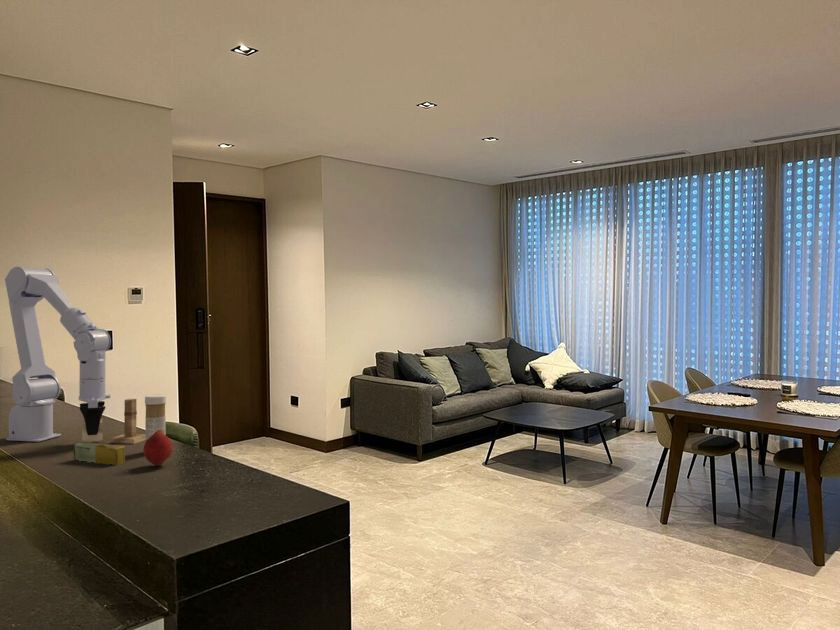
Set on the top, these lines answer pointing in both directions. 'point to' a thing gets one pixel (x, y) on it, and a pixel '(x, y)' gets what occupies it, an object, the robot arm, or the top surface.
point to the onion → (158, 448)
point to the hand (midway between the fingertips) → (92, 432)
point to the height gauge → (129, 425)
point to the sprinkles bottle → (155, 414)
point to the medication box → (99, 453)
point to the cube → (92, 437)
